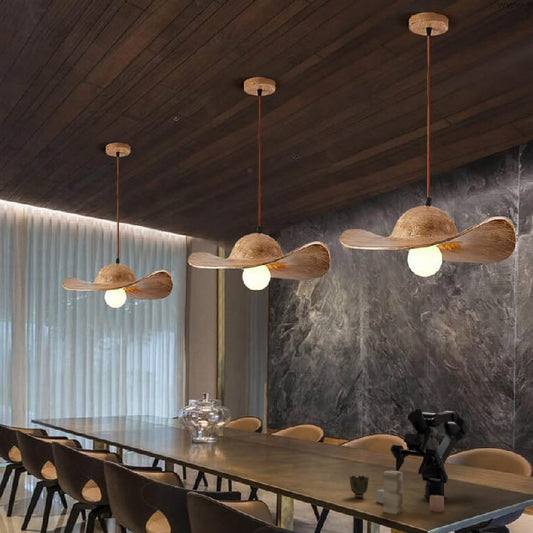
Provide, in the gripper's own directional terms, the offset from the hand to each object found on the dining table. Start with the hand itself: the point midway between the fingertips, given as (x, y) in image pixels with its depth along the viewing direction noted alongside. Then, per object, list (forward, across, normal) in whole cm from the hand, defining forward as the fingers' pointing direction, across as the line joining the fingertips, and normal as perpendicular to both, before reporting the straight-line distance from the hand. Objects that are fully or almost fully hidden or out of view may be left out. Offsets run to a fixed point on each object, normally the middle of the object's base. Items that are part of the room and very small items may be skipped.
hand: (407, 471), depth 266 cm
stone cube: (+9, -10, +9) cm, 16 cm away
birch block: (+17, 0, +1) cm, 17 cm away
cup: (+9, -22, +10) cm, 25 cm away
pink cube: (+8, +11, +10) cm, 17 cm away
